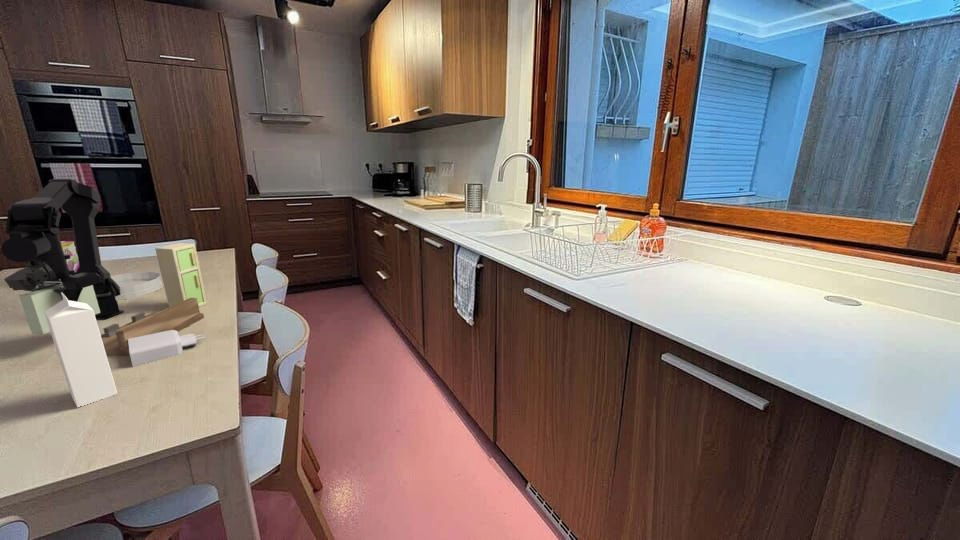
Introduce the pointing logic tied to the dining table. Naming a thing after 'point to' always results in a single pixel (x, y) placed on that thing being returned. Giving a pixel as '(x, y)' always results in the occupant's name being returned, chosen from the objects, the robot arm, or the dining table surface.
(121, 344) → the cabinet base
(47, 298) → the door panel
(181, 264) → the toy refrigerator
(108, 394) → the milk
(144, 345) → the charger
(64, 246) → the candy bar box
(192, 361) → the dining table surface
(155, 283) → the dish
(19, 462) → the dining table surface
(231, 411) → the dining table surface
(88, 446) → the dining table surface
